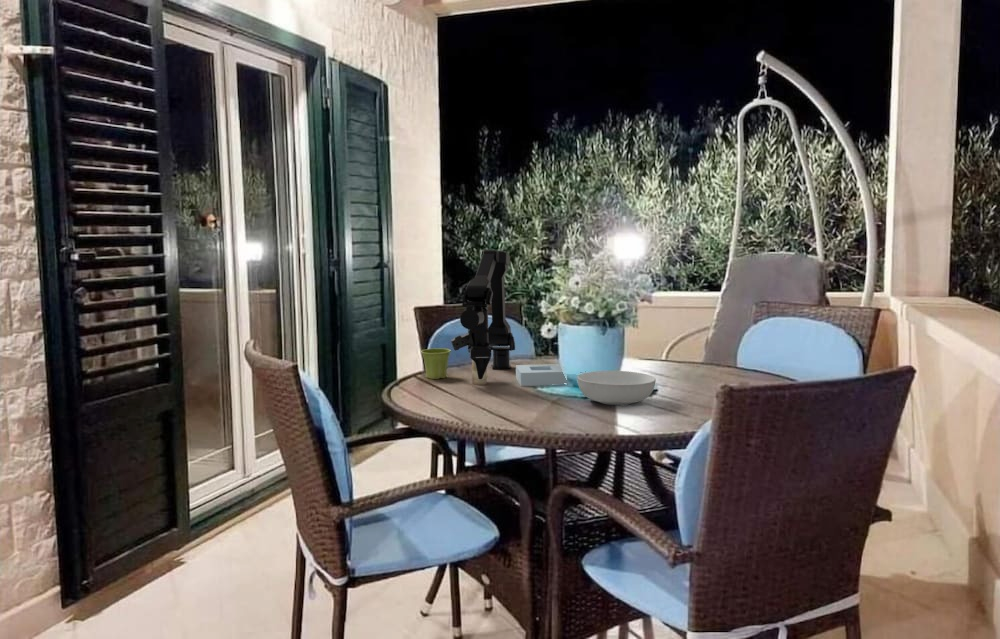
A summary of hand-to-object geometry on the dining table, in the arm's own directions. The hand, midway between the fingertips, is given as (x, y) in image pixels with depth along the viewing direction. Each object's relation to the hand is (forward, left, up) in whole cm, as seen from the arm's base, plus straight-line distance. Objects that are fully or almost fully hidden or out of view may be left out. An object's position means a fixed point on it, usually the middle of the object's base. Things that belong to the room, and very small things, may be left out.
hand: (479, 376), depth 242 cm
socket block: (-1, +19, -2) cm, 19 cm away
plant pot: (-12, -13, -2) cm, 18 cm away
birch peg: (0, 0, -2) cm, 2 cm away
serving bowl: (+31, +35, -2) cm, 47 cm away
